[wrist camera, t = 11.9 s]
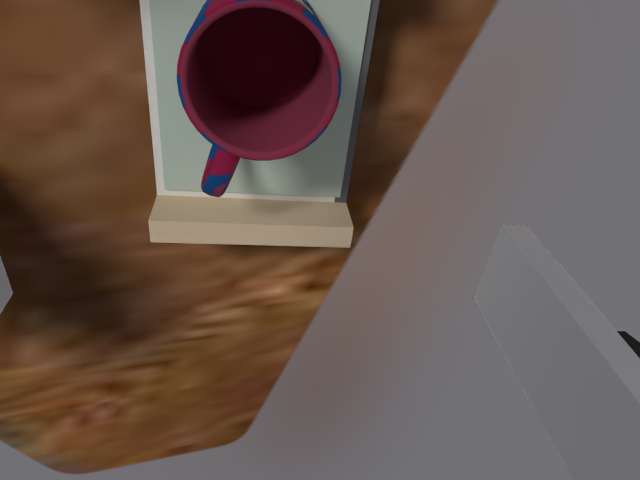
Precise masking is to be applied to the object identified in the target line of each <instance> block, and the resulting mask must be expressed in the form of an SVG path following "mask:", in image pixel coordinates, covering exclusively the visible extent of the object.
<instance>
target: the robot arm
mask: <svg viewBox="0 0 640 480" xmlns="http://www.w3.org/2000/svg"><path fill="white" fill-rule="evenodd" d="M12 294H13V292H12V289H11V286H10V283H9V280H8V277H7V274H6V271H5V268H4V265H3V262H2V259H1V256H0V314H1V312H2V311H3V309H4V307H5V306H6V304H7V302H8V301H9V299H10V298H11V296H12ZM473 300H474V302H475V304H476V305H477V307H478V309H479V311H480V313H481V314H482V316H483V318H484V320H485V322H486V324H487V325H488V327H489V329H490V331H491V333H492V334H493V336H494V338H495V340H496V342H497V344H498V346H499V347H500V349H501V351H502V353H503V355H504V356H505V358H506V360H507V362H508V364H509V366H510V367H511V369H512V371H513V373H514V375H515V376H516V378H517V380H518V382H519V384H520V386H521V387H522V389H523V391H524V393H525V395H526V396H527V398H528V400H529V402H530V404H531V406H532V407H533V409H534V411H535V413H536V415H537V416H538V418H539V420H540V422H541V424H542V425H543V427H544V429H545V431H546V432H547V435H548V436H549V438H550V440H551V442H552V444H553V446H554V447H555V449H556V451H557V453H558V455H559V456H560V458H561V460H562V462H563V464H564V466H565V467H566V469H567V471H568V473H569V475H570V477H571V478H572V480H640V342H638V341H637V340H635V339H634V338H633V337H632V336H630V335H629V334H628V333H626V332H625V331H616V330H615V329H614V327H613V326H612V325H611V324H610V323H609V321H608V320H607V319H606V318H605V317H604V316H603V315H602V313H601V312H600V311H599V310H598V308H597V307H596V306H595V305H594V304H593V303H592V301H591V300H590V299H589V298H588V297H587V296H586V294H585V293H584V292H583V291H582V289H581V288H580V287H579V286H578V285H577V284H576V282H575V281H574V280H573V279H572V278H571V277H570V275H569V274H568V273H567V272H566V271H565V269H564V268H563V267H562V266H561V265H560V263H559V262H558V261H557V260H556V259H555V258H554V256H553V255H552V254H551V253H550V252H549V250H548V249H547V248H546V247H545V246H544V244H543V243H542V242H541V241H540V240H539V239H538V238H537V236H536V235H535V234H534V233H533V231H532V230H531V229H530V228H529V227H528V226H527V225H510V224H502V225H501V228H500V230H499V233H498V235H497V238H496V240H495V243H494V245H493V248H492V250H491V253H490V255H489V258H488V260H487V263H486V265H485V268H484V271H483V273H482V276H481V278H480V281H479V283H478V286H477V288H476V291H475V293H474V296H473Z"/></svg>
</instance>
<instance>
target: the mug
mask: <svg viewBox="0 0 640 480" xmlns="http://www.w3.org/2000/svg"><path fill="white" fill-rule="evenodd" d="M341 82H342V78H341V69H340V63H339V60H338V56H337V53H336V50H335V48H334V46H333V44H332V42H331V40H330V38H329V36H328V34H327V32H326V31H325V29H324V27H323V25H322V24H321V22H320V20H319V18H318V17H317V15H316V13H315V11H314V10H313V8H312V7H311V5H310V4H309V3H308V1H307V0H207V1H206V2H205V4H204V5H203V6H202V8H201V10H200V12H199V14H198V16H197V17H196V19H195V21H194V23H193V25H192V27H191V28H190V30H189V32H188V34H187V36H186V38H185V40H184V43H183V45H182V47H181V50H180V54H179V58H178V63H177V85H178V93H179V96H180V99H181V103H182V106H183V108H184V110H185V112H186V114H187V116H188V118H189V120H190V121H191V123H192V124H193V125H194V127H195V128H196V129H197V131H198V132H199V133H200V134H201V135H202V136H203V137H204V138H205V139H206V140H207V141H209V142H210V143H211V144H212V147H211V150H210V153H209V156H208V159H207V163H206V166H205V170H204V173H203V177H202V182H201V189H202V192H204V193H206V194H207V195H209V196H214V197H220V196H222V195H223V194H224V193H225V191H226V189H227V187H228V185H229V183H230V181H231V179H232V177H233V174H234V172H235V170H236V167H237V165H238V163H239V160H240V158H243V159H248V160H255V161H271V160H276V159H282V158H285V157H288V156H291V155H294V154H296V153H298V152H300V151H302V150H303V149H305V148H307V147H308V146H309V145H311V144H312V143H313V142H314V141H316V140H317V139H318V138H319V137H320V135H321V134H322V133H323V132H324V131H325V130H326V128H327V127H328V125H329V124H330V122H331V121H332V119H333V116H334V114H335V112H336V109H337V107H338V103H339V99H340V95H341Z"/></svg>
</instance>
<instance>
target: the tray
mask: <svg viewBox="0 0 640 480" xmlns="http://www.w3.org/2000/svg"><path fill="white" fill-rule="evenodd" d="M206 1H207V0H140V11H141V22H142V33H143V44H144V55H145V66H146V77H147V88H148V99H149V110H150V120H151V131H152V142H153V153H154V164H155V175H156V186H157V197H156V200H155V203H154V206H153V209H152V212H151V214H150V217H149V220H148V222H149V231H150V240H151V242H166V243H201V244H237V245H273V246H308V247H344V248H350V246H351V240H352V235H353V229H354V227H353V224H352V220H351V217H350V214H349V211H348V207H347V204H346V201H347V195H348V188H349V182H350V176H351V170H352V164H353V158H354V152H355V146H356V140H357V134H358V128H359V122H360V116H361V110H362V104H363V98H364V92H365V86H366V80H367V74H368V68H369V62H370V56H371V50H372V44H373V38H374V32H375V26H376V20H377V14H378V8H379V2H380V0H307V1H308V3H309V4H310V5H311V7H312V8H313V10H314V11H315V13H316V15H317V17H318V18H319V20H320V22H321V24H322V25H323V27H324V29H325V31H326V32H327V34H328V36H329V38H330V40H331V42H332V44H333V46H334V48H335V50H336V53H337V56H338V60H339V63H340V69H341V78H342V82H341V95H340V99H339V103H338V107H337V109H336V112H335V114H334V116H333V119H332V121H331V122H330V124H329V125H328V127H327V128H326V130H325V131H324V132H323V133H322V134H321V135H320V137H319V138H318V139H317V140H316V141H314V142H313V143H312V144H311V145H309V146H308V147H307V148H305V149H303V150H302V151H300V152H298V153H296V154H294V155H291V156H288V157H285V158H282V159H276V160H271V161H255V160H248V159H243V158H240V160H239V163H238V165H237V167H236V170H235V172H234V174H233V177H232V179H231V181H230V183H229V185H228V187H227V189H226V191H225V193H224V194H223V195H222V196H220V197H214V196H209V195H207V194H206V193H204V192H202V189H201V182H202V177H203V173H204V170H205V166H206V163H207V159H208V156H209V153H210V150H211V147H212V144H211V143H210V142H209V141H207V140H206V139H205V138H204V137H203V136H202V135H201V134H200V133H199V132H198V131H197V129H196V128H195V127H194V125H193V124H192V123H191V121H190V120H189V118H188V116H187V114H186V112H185V110H184V108H183V106H182V103H181V99H180V96H179V93H178V85H177V63H178V58H179V54H180V50H181V47H182V45H183V43H184V40H185V38H186V36H187V34H188V32H189V30H190V28H191V27H192V25H193V23H194V21H195V19H196V17H197V16H198V14H199V12H200V10H201V8H202V6H203V5H204V4H205V2H206Z"/></svg>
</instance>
